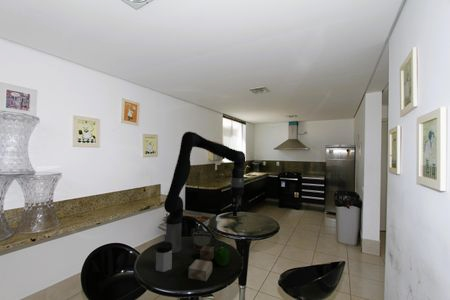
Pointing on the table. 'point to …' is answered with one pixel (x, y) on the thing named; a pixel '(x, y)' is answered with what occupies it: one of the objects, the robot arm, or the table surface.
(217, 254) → the bell pepper
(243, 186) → the robot arm
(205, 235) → the food container
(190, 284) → the table surface
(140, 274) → the table surface
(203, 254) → the walnut cube
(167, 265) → the jar
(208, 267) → the maple base
